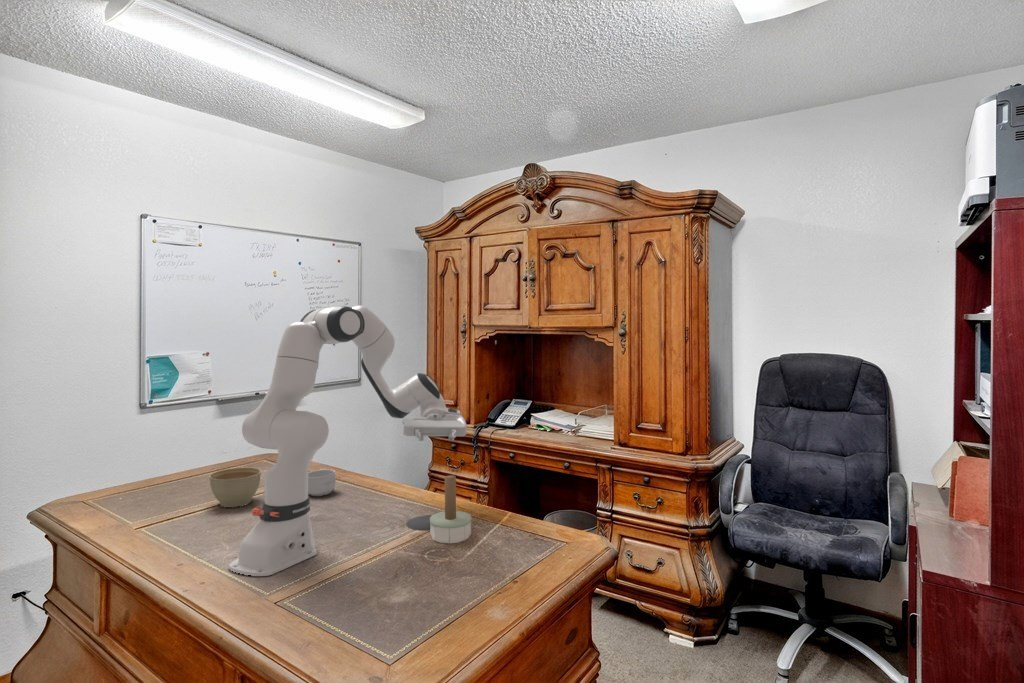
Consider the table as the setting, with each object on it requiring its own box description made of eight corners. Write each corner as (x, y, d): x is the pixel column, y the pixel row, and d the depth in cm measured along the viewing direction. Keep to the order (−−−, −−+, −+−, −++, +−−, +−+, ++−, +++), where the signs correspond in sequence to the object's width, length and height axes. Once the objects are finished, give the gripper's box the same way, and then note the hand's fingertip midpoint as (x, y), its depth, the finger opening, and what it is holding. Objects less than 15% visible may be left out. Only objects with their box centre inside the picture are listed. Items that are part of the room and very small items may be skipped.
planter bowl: (240, 513, 180) (240, 480, 180) (198, 510, 183) (198, 478, 183) (271, 497, 196) (270, 468, 195) (232, 495, 199) (231, 466, 199)
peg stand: (460, 530, 150) (460, 484, 150) (422, 525, 154) (421, 480, 154) (477, 515, 162) (477, 473, 161) (441, 511, 166) (441, 469, 165)
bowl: (459, 547, 151) (459, 529, 151) (424, 542, 155) (424, 524, 155) (475, 532, 161) (475, 516, 161) (442, 528, 165) (442, 512, 165)
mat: (436, 534, 160) (436, 532, 160) (398, 529, 165) (398, 527, 165) (455, 519, 172) (455, 517, 172) (419, 515, 177) (419, 513, 177)
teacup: (329, 498, 194) (329, 476, 194) (299, 498, 195) (299, 476, 194) (342, 487, 208) (342, 466, 208) (314, 487, 209) (314, 466, 208)
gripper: (403, 409, 179) (403, 429, 166) (464, 410, 183) (469, 430, 170) (402, 426, 181) (402, 447, 168) (463, 427, 185) (467, 448, 172)
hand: (436, 438), depth 169 cm, fingers open, 8 cm apart
